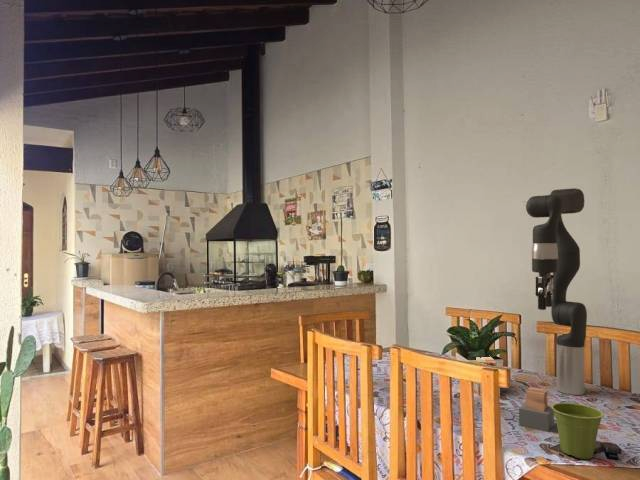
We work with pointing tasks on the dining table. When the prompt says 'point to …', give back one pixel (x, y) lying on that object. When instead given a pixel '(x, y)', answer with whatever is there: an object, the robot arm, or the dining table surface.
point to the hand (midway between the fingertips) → (545, 308)
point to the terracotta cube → (536, 399)
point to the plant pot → (577, 428)
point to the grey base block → (536, 418)
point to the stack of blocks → (486, 361)
